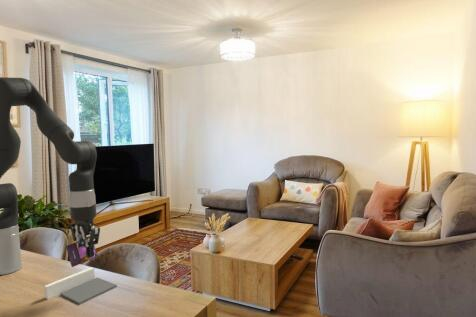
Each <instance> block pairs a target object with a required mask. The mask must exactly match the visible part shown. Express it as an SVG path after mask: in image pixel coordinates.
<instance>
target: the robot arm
mask: <svg viewBox="0 0 476 317" xmlns="http://www.w3.org/2000/svg"><path fill="white" fill-rule="evenodd" d="M22 106H26V107H28V108H30V109H31V110H32V111H33V112H34V113H35V117H36V124H37V128H38V129H39V131H40V132H41V133H42V134H43V136H44V137H46V138H47V139H48V140H49V141H50V142H51V143H52V144H53V147H54V149H55V150H56V152H57V154H58V155H59V157H60V159H61V160H62V161H64V162H65V163H67V164H69V165H77V167H76V169H75V170H74V171H72V172H70V174H69V175H68V185H69V186H68V187H69V188H68V189H69V194H68V195H69V197H68V200H69V202H68V203H69V212H70V220H71V221H73V222H72V223H69V228H70V232H71V237H72V240H73V241H74V242H75V243H76V242H79V241H81V240H85V243H84V245H82V246H86V256H85V257H86V258H87V259H90V258H92V257H93V256H94V257H95V255H94V246H95V245H98V244H99V240H100V234H101V227H99V226H97V227H96V226H95V222H94V219H95V218H96V217H97V205H96V204H97V202H96V201H97V200H96V193H95V186H94V184H95V183H94V174H95V170H96V169H95V168H96V162H97V158H98V154H97V149H96V146H95V145H94V143H92V142H91V141H87V140H80V141H75V140H74V138H75V132H74V130H72V128H71V127H70V126H69V125H68V124H66V122H64V120H62V119H61V118H60V117H59V116H58V115H57V114H56V113H55V112H54V110H53V109H52V108H51V106H50V105H49V104H48V102H47V101H46V100H45V99H44V97H43V96H42V94H41V93H40V92H39V90H38V89H37V87H36V86H35V85H34V84H33V83H32V82H31V81H30V80H29V79H27V78H25V77H8V76H7V77H5V76H3V77H0V180H1V178H2V177H3V176H4V175H5V174H6V173H7V172H8V171H9V170H10V169H11V168H12V167H13V166H14V164H15V163H16V162H17V160H18V159H19V156H20V150H21V145H22V144H21V142H22V141H21V138H20V135H19V132H17V130H16V129H15V127H14V125H13V124H12V121H11V109H12V107H22ZM18 197H19V196H18V190H17V187H16V185H14V183H10V182H9V183H8V182H7V183H0V210H2V211H1V212H0V276H3V275H4V276H5V275H9V274H11V273H12V274H13V273H15V272H17V271H20V269H22V266H23V265H22V253H21V252H22V251H21V241H20V240H21V239H20V230H19V208H18V206H19V201H18V199H19V198H18ZM88 239H89V241H88ZM80 247H81V245H80V243H77V248H78V249H79V248H80Z"/></svg>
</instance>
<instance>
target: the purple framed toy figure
mask: <svg viewBox="0 0 476 317" xmlns="http://www.w3.org/2000/svg"><path fill="white" fill-rule="evenodd" d="M88 241H89V239H88ZM77 243H80V245H81V247H80V248H79V249H78V244H77ZM84 243H85V240H81V241H79V242H76V241H75V242H73V243H71V244H68V245H66V246H65V248H66V251H67V255H68V260H69V261H70V265H71V268H74V267H76V266H78V265H82V264H84V263H86V262H89V261H90V260H93V259H96V258H97V257H98V254H97V251H96V250H97V249H96V246H95V245H94V256H93V257H91V258H87V259H86V260H85V259H84V260H83V261H82V258H85V257H86V246H82V245H84Z"/></svg>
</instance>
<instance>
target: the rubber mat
mask: <svg viewBox="0 0 476 317" xmlns="http://www.w3.org/2000/svg"><path fill="white" fill-rule="evenodd" d="M117 285H118V284H115V283H112V282H110V281H107V280H105V279H102V278H99V277H95V279H93V280H90V281H88V282H86V283H83V284H81V285H78V286H76V287H74V288H71V289H69V290H67V291H64V292H62V293H60V294H59V295H60V296H62V297H63V298H66V299H67V300H70V301H72V302H74V303H76V304H77V305H81V304H83V303H86V302H88V301H89V300H90V301H91V300H93V299H94V298H96V297H98V296H101V295H102V294H105V293H107V292H109V291H111V290H113V289H115V288H117Z"/></svg>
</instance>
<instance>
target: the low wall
mask: <svg viewBox="0 0 476 317" xmlns="http://www.w3.org/2000/svg"><path fill="white" fill-rule="evenodd" d="M95 275H96V274H95V268H94V267H92V266H91V267H89V268H86V269H84V270H81V271H79V272H75V273H74V274H71V275H69V276H66V277H64V278H61V279H57V280H56V281H54V282H50V283H48V284H46V285H44V295H45V299H47V300H50V299H52V298H55V297H57V296H59V295H60V293H62V292H64V291H67V290H69V289H71V288H74V287H76V286H78V285H81V284H83V283H86V282H88V281H90V280H93V279H95V278H96V277H95Z"/></svg>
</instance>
